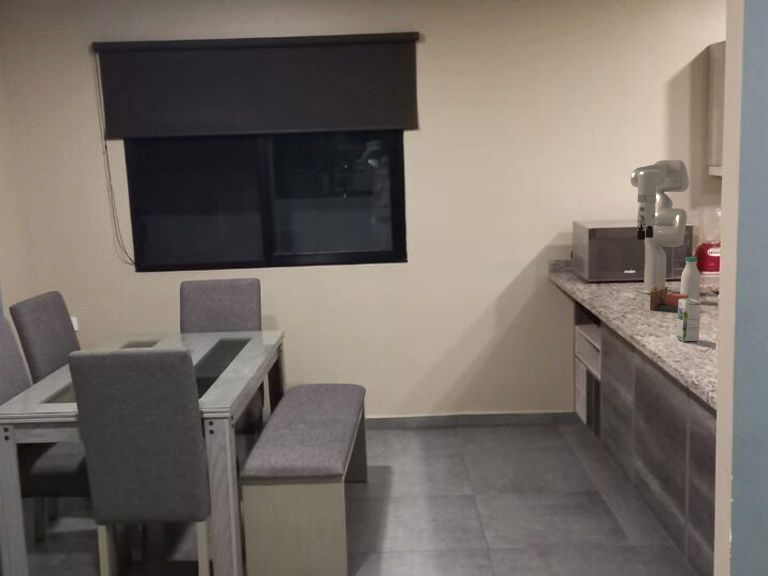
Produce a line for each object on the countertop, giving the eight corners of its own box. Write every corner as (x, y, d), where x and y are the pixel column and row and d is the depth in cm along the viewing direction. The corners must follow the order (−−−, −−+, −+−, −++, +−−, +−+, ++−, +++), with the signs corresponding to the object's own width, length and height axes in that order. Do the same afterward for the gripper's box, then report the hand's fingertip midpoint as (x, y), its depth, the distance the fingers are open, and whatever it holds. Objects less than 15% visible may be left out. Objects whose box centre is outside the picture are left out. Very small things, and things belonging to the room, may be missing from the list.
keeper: (665, 306, 324) (665, 301, 324) (694, 309, 317) (694, 304, 317) (658, 309, 318) (658, 305, 317) (687, 313, 310) (687, 308, 310)
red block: (684, 310, 313) (685, 294, 312) (665, 308, 318) (665, 293, 317) (687, 308, 317) (688, 293, 315) (668, 306, 322) (669, 291, 320)
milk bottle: (700, 304, 328) (702, 258, 324) (681, 303, 329) (683, 258, 326) (696, 300, 335) (699, 256, 332) (678, 300, 337) (680, 256, 333)
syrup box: (675, 339, 267) (677, 298, 265) (691, 338, 268) (693, 298, 265) (683, 342, 262) (685, 301, 259) (699, 342, 262) (701, 301, 260)
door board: (661, 304, 328) (662, 282, 327) (667, 305, 327) (668, 282, 325) (649, 310, 317) (650, 286, 315) (655, 311, 315) (656, 287, 314)
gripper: (648, 200, 318) (646, 241, 321) (662, 198, 332) (660, 237, 335) (630, 200, 323) (629, 240, 326) (645, 198, 336) (643, 236, 339)
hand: (645, 238), depth 330 cm, fingers open, 9 cm apart
